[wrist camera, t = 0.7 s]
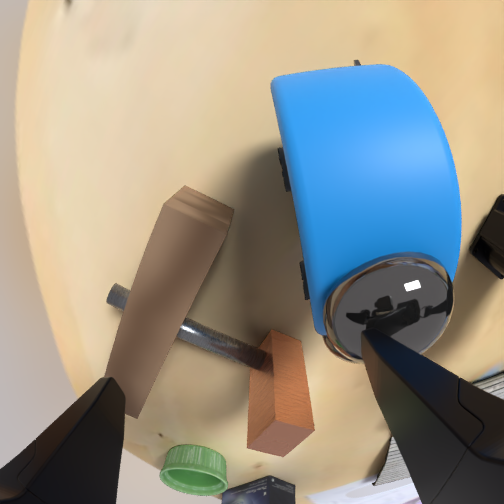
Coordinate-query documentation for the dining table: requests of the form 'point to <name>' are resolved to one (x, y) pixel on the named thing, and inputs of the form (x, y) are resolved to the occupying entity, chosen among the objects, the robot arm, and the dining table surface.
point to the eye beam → (165, 290)
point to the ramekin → (195, 470)
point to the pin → (258, 381)
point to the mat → (394, 462)
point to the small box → (261, 492)
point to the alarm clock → (370, 204)
